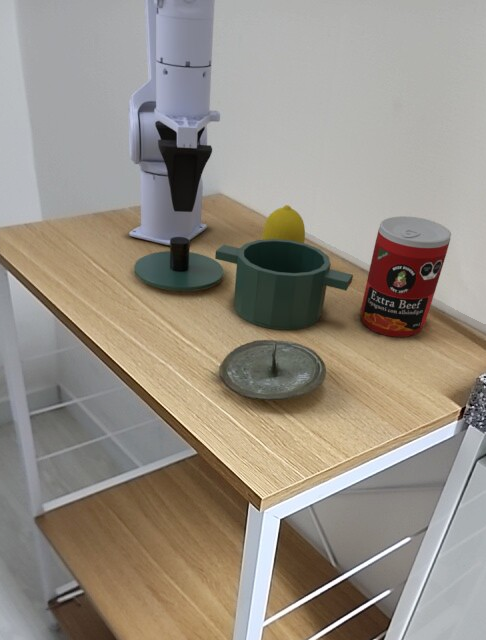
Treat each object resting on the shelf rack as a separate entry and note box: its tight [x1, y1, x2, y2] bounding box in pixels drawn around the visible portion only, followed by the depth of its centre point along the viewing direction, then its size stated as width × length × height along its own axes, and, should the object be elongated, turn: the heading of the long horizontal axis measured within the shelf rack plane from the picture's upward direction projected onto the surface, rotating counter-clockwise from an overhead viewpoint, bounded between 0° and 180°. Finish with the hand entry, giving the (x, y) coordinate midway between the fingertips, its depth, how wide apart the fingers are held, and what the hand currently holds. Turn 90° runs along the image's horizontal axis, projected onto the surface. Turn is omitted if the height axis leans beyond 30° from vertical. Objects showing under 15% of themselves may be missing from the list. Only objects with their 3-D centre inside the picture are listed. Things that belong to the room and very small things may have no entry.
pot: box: [214, 239, 354, 331], centre depth 74 cm, size 10×16×6 cm, turn 67°
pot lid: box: [133, 237, 225, 292], centre depth 79 cm, size 11×11×5 cm
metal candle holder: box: [218, 339, 327, 402], centre depth 62 cm, size 11×10×5 cm
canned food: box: [360, 215, 452, 338], centre depth 72 cm, size 8×8×11 cm
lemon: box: [261, 204, 306, 243], centre depth 83 cm, size 6×6×8 cm
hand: (180, 199), depth 75 cm, fingers open, 7 cm apart
